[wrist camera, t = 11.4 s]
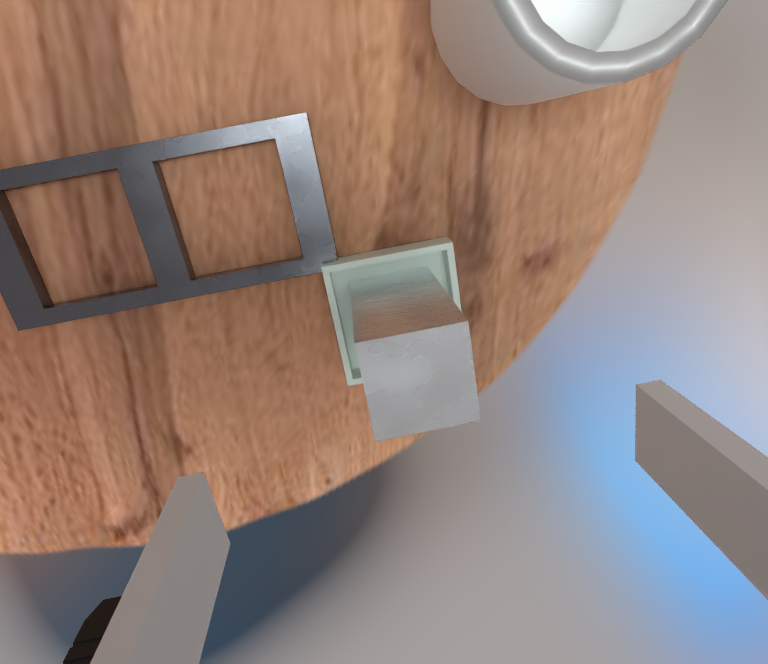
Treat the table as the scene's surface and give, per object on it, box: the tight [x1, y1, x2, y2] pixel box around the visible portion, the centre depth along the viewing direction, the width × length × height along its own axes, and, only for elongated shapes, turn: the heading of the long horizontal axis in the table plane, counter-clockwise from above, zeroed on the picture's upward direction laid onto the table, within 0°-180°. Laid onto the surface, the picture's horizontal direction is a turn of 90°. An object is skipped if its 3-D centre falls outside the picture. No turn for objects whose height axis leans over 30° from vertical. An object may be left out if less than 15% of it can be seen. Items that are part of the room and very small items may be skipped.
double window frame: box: [0, 113, 338, 331], centre depth 30 cm, size 20×9×1 cm, turn 100°
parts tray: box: [321, 237, 462, 386], centre depth 32 cm, size 8×8×2 cm
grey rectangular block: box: [350, 266, 481, 442], centre depth 28 cm, size 5×5×11 cm
